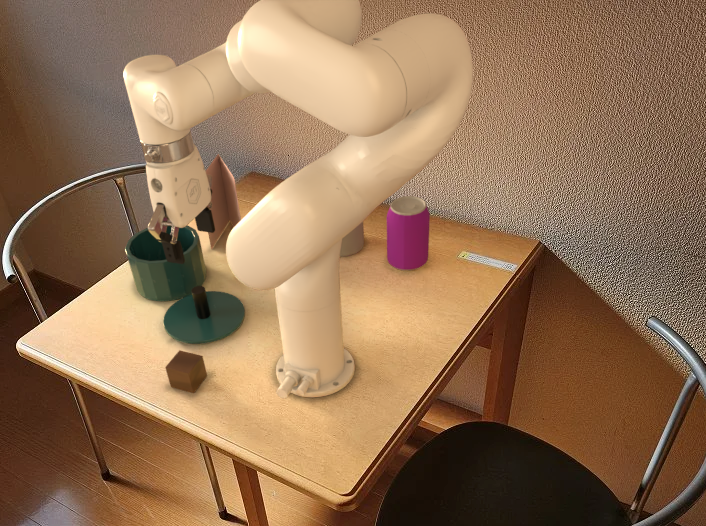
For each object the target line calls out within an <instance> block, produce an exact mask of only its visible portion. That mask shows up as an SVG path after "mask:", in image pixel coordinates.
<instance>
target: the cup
mask: <svg viewBox="0 0 706 526" xmlns="http://www.w3.org/2000/svg"><path fill="white" fill-rule="evenodd" d="M364 231H365V230H364V221H363V222H362V223H360V224H359V225H358V226H357V227H356V228H355V229H353V230H352V231H351V232H350V233H349V234H347V235H346V236H345V237H343V238H342V243H341V250H340V257H348V256H353V255H356V254H358V253H359V252H360V251H362V249H363V247H364V245H365V232H364Z"/></svg>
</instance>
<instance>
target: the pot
mask: <svg viewBox="0 0 706 526" xmlns="http://www.w3.org/2000/svg"><path fill="white" fill-rule="evenodd" d="M171 229H172V227H169V226H167V230H166V233H167V234H170V235H171ZM177 240H178V241H180V242H181V246H182V250H183V254H184V258H185V262H184V263H183V264H178V263H172V262H168V261H167V260H166V256H165V252H164V249H163V245H162V242H159V241H158V240H156V239H154V237H153V235H152V234H151V233H150V232H149V231H148V227H145V228H144V229H141V230H139V231H138V232H136V233H135V234H134V235H132V236H131V237H130V238H129V239H128V240H127V242H126V245H125V248H124V251H125V254H126V258H127V261H128V265H129V268H130V271H131V275H132V278H133V281H134V286H135V288H136V291H137V293H138V294H139V295H140V296H141V297H142V298H144V299H147V300H149V301H153V302H172V301H178V300H180V299H182V298H184V297H186V296H188V295H191V294H192V292H191V291H192V289H193V288H194V287H196V286H203V285H204V284H205V283H206V280H207V268H206V263H205V257H204V254H203V248H202V244H201V238H200V235H199V233H198V232H197V230H196V229H195V228H194V227H191V226H190V225H189V224H188V225H187V226H185V227H184V228H179V231H178V237H177Z"/></svg>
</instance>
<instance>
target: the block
mask: <svg viewBox="0 0 706 526" xmlns="http://www.w3.org/2000/svg"><path fill="white" fill-rule="evenodd" d="M165 371H166V375H167V378H168V383H169V385H170V388H172V389H176V390H180V391H184V392H187V393H189V394H190V393H191V394H195V393H196V391H197V390H198V389H199V387H201V385H202V384H203V383H204V381H205V380H206V378H207V377H208V373H207V368H206V365H205V360H204V357H203V355H201V354H197V353H193V352H190V351H189V352H188V351H184V350H182V349H181V350H180V349H179V350H178V351H177V353H176V354H175V355H174V356H173V357H172V359H171V360H170V361H168V363H167V364H166V366H165Z"/></svg>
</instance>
